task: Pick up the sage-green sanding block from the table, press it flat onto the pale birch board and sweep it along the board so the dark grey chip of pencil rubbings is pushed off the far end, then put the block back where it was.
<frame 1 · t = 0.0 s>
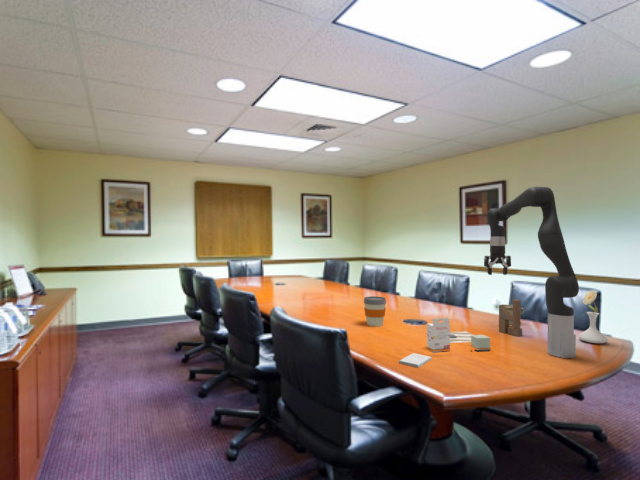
hand: (497, 274, 200), 29 cm above the table, tool pointing down, fingers open, 8 cm apart
sanding block: (480, 350, 162), on the table
grime chip: (450, 337, 177), point 1 cm above the table, touching birch board
ink cartridge box: (438, 351, 161), on the table
flower in vase: (592, 342, 173), on the table
external hard drive: (415, 362, 147), on the table
birch board: (454, 340, 177), on the table
reusable coffee cup: (374, 324, 210), on the table
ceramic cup: (511, 323, 211), on the table
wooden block: (510, 334, 189), on the table
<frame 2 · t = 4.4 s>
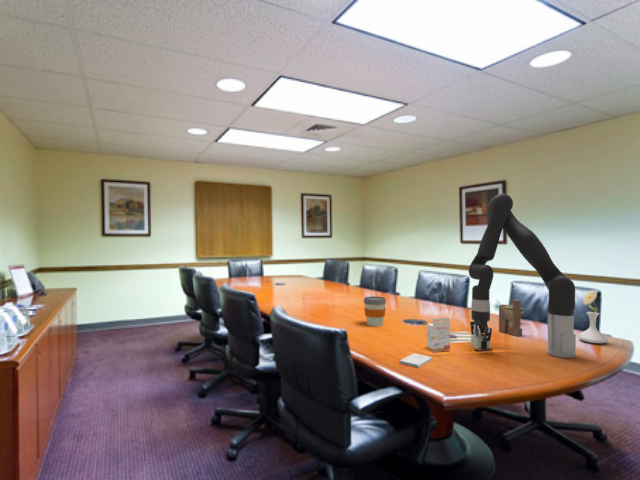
hand: (480, 347, 162), 1 cm above the table, tool pointing down, fingers closed on sanding block, 5 cm apart
sanding block: (480, 349, 162), on the table, touching gripper
everything else where it was.
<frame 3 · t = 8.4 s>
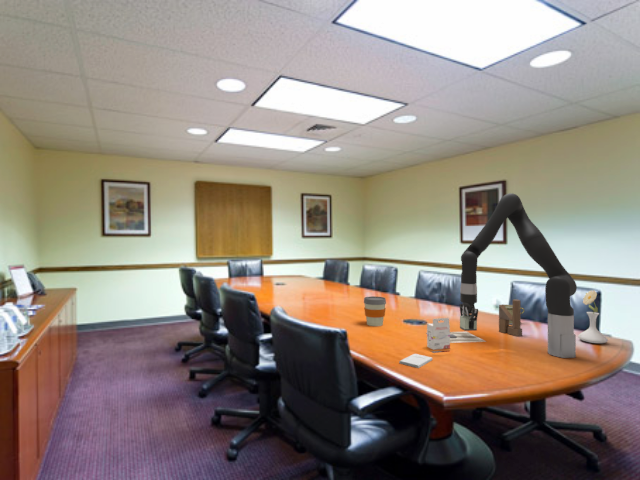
hand: (468, 327, 178), 6 cm above the table, tool pointing down, fingers closed on sanding block, 5 cm apart
sanding block: (468, 329, 178), point 5 cm above the table, touching gripper
everything else where it was.
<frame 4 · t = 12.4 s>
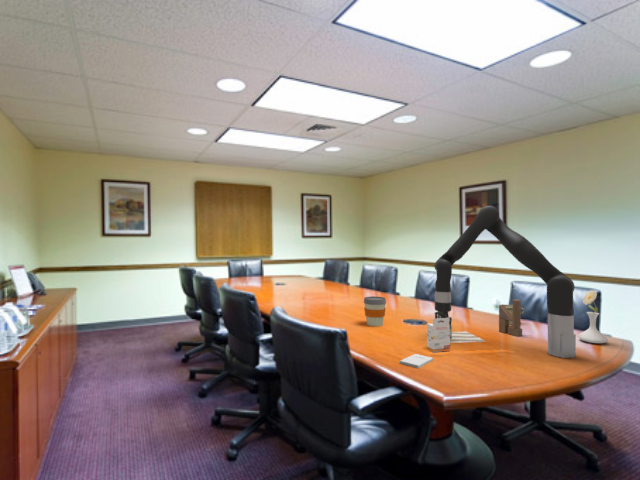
hand: (442, 335, 177), 2 cm above the table, tool pointing down, fingers closed on sanding block, 5 cm apart
sanding block: (443, 337, 177), point 2 cm above the table, touching gripper
grime chip: (433, 337, 176), point 1 cm above the table, touching birch board
everything else where it was.
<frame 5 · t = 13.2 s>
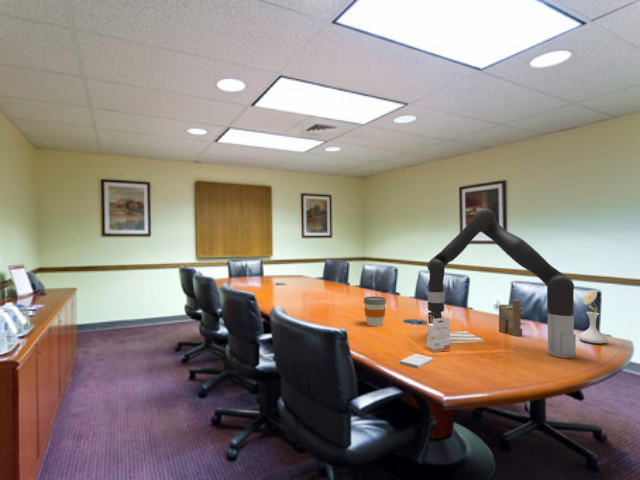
hand: (436, 336, 176), 2 cm above the table, tool pointing down, fingers closed on sanding block, 5 cm apart
sanding block: (436, 337, 176), point 2 cm above the table, touching gripper
grime chip: (428, 342, 176), on the table
everything else where it was.
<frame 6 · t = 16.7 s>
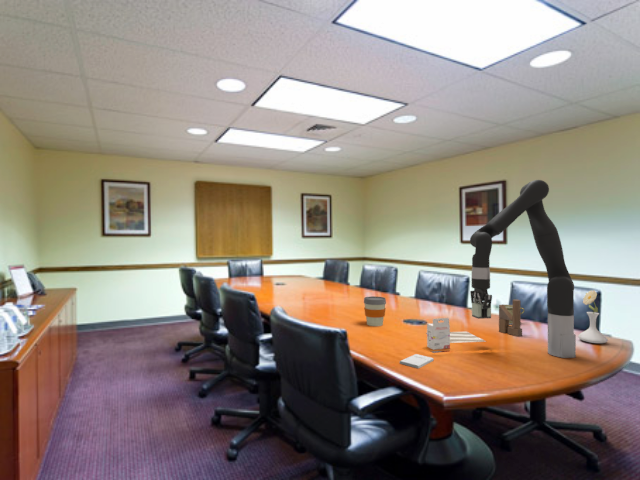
hand: (480, 315, 162), 15 cm above the table, tool pointing down, fingers closed on sanding block, 5 cm apart
sanding block: (481, 317, 162), point 14 cm above the table, touching gripper
when the fingers open (2 cm above the table, at t = 19.9 s): sanding block drops 1 cm, on the table.
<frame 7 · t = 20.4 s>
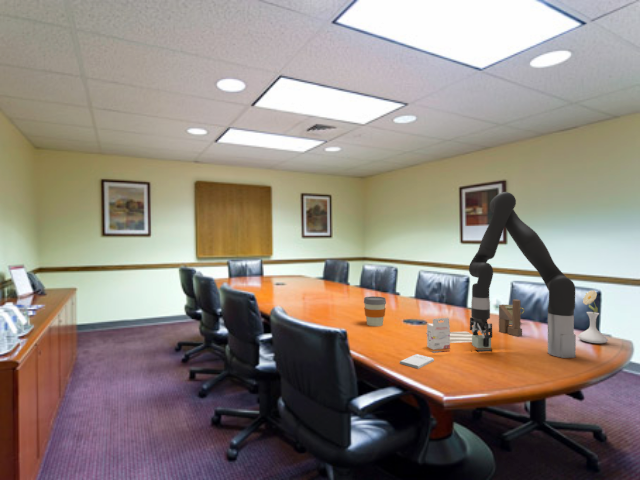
hand: (480, 343, 162), 3 cm above the table, tool pointing down, fingers open, 8 cm apart
sanding block: (481, 350, 162), on the table
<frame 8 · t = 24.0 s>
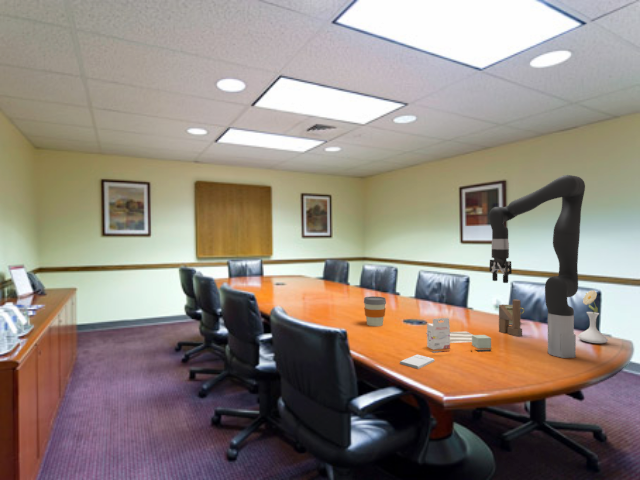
hand: (500, 281, 178), 28 cm above the table, tool pointing down, fingers open, 8 cm apart
at the end: grime chip inside the target area (6.5 cm from its centre), on the table; sanding block inside the target area (0.4 cm from its centre), on the table; sanding block tilted 0° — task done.
